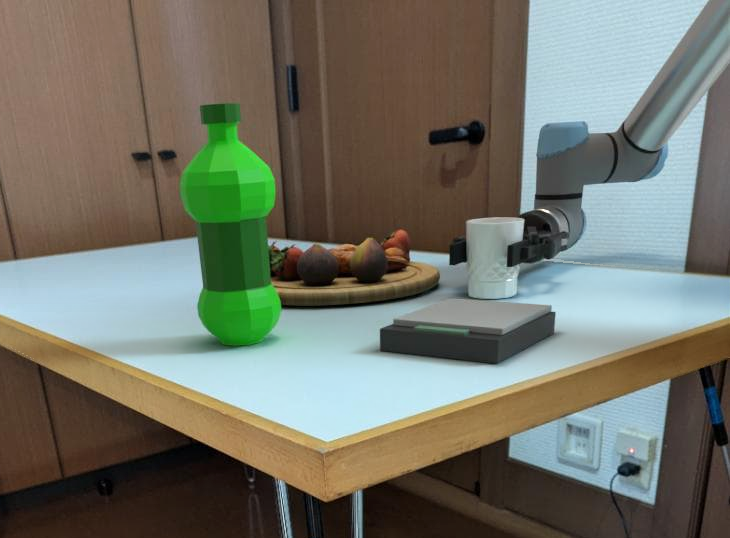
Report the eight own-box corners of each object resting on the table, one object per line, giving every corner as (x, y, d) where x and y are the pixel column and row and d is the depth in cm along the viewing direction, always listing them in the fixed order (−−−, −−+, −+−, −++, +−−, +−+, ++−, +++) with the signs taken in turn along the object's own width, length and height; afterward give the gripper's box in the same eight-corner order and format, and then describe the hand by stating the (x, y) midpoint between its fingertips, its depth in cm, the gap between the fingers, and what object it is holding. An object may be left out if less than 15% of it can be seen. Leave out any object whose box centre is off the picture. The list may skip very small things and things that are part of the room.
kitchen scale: (554, 333, 91) (556, 305, 90) (497, 363, 81) (498, 332, 79) (445, 323, 99) (445, 297, 97) (380, 350, 88) (379, 322, 87)
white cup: (453, 297, 114) (454, 222, 110) (483, 288, 119) (486, 216, 115) (501, 302, 109) (504, 224, 105) (530, 292, 114) (535, 217, 110)
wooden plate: (381, 266, 144) (380, 217, 141) (480, 290, 118) (482, 231, 114) (210, 287, 133) (204, 234, 130) (278, 318, 107) (273, 253, 103)
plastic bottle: (269, 327, 102) (251, 105, 91) (295, 343, 93) (279, 99, 82) (192, 337, 99) (164, 109, 88) (211, 355, 90) (182, 103, 79)
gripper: (600, 262, 122) (553, 287, 105) (474, 259, 132) (412, 281, 115) (605, 209, 118) (557, 226, 101) (475, 210, 128) (412, 225, 111)
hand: (480, 255), depth 108 cm, fingers closed on white cup, 8 cm apart
